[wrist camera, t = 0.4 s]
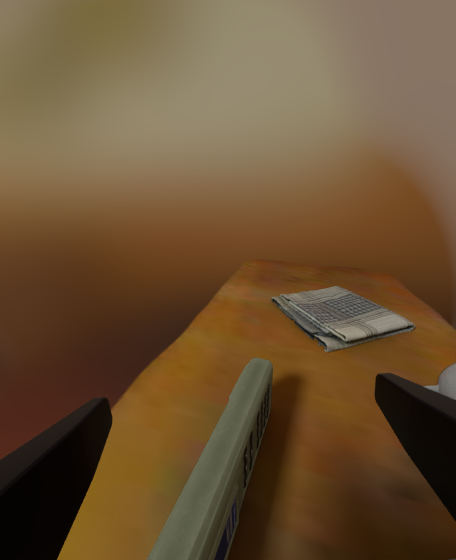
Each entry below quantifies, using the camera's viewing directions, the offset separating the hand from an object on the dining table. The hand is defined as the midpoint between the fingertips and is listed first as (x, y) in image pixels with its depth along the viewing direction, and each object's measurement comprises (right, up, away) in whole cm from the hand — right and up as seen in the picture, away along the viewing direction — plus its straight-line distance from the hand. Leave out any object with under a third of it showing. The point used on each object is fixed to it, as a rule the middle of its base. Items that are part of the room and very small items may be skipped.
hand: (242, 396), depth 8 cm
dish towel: (+19, -3, +37) cm, 42 cm away
